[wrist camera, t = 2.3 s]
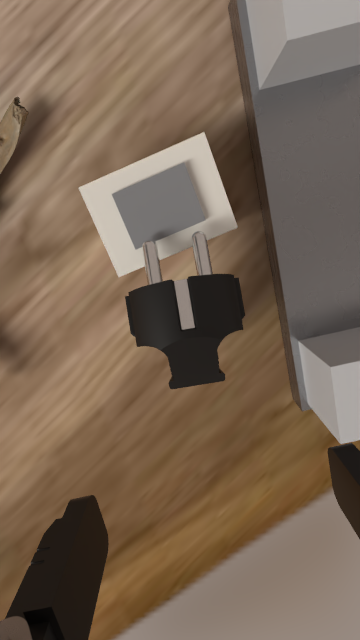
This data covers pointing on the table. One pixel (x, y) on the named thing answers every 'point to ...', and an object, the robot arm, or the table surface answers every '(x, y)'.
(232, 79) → the table surface
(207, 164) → the block
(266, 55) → the mounted modules
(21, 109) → the jawbone
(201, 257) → the power plug
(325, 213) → the rail base
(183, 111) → the table surface
